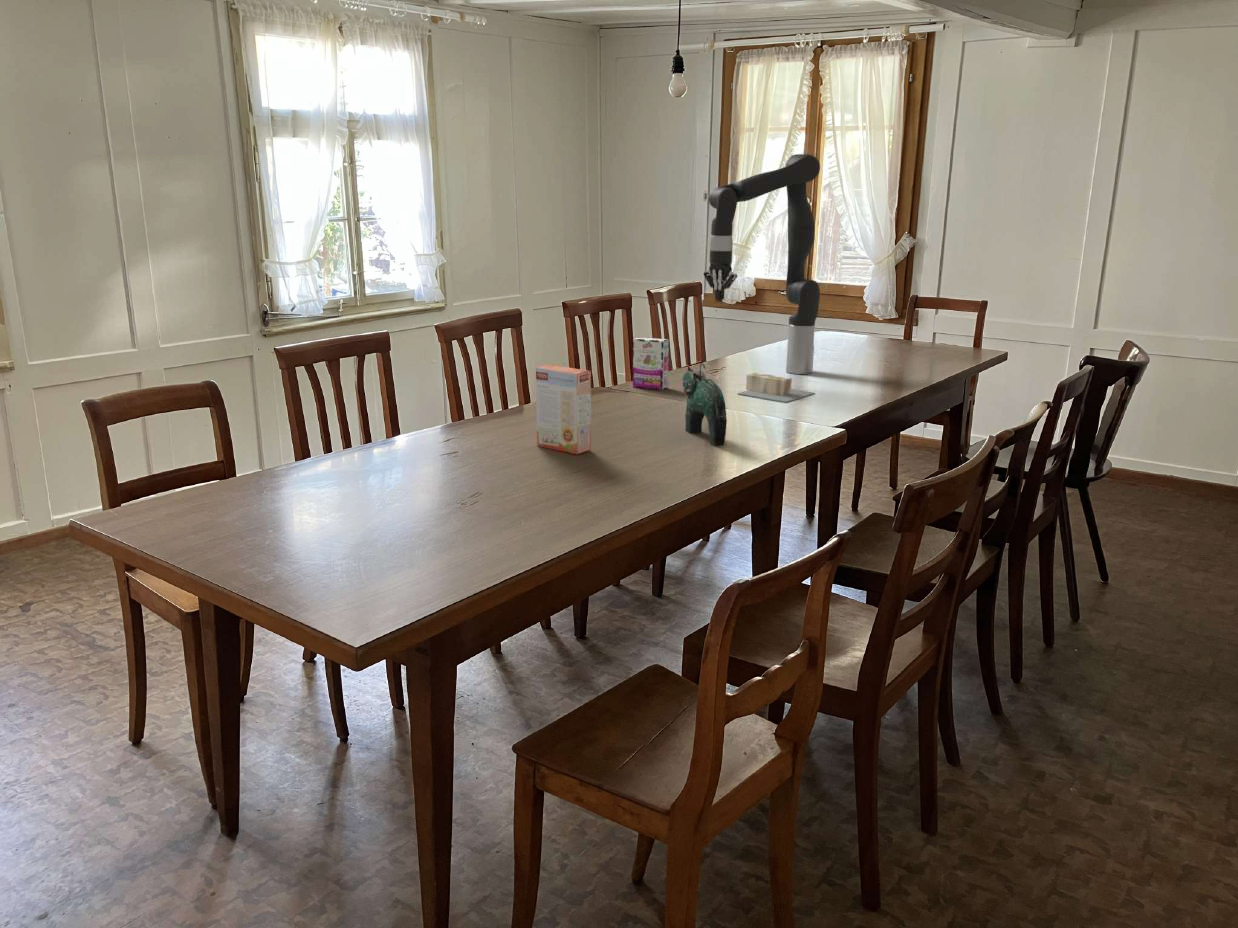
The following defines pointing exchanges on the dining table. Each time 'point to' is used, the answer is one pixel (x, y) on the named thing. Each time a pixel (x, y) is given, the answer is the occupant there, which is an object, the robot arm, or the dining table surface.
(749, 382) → the birch block
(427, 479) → the dining table surface
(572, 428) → the cracker box
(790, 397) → the slate rubber mat
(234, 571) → the dining table surface
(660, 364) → the candy bar box
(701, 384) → the green animal figurine
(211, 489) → the dining table surface
